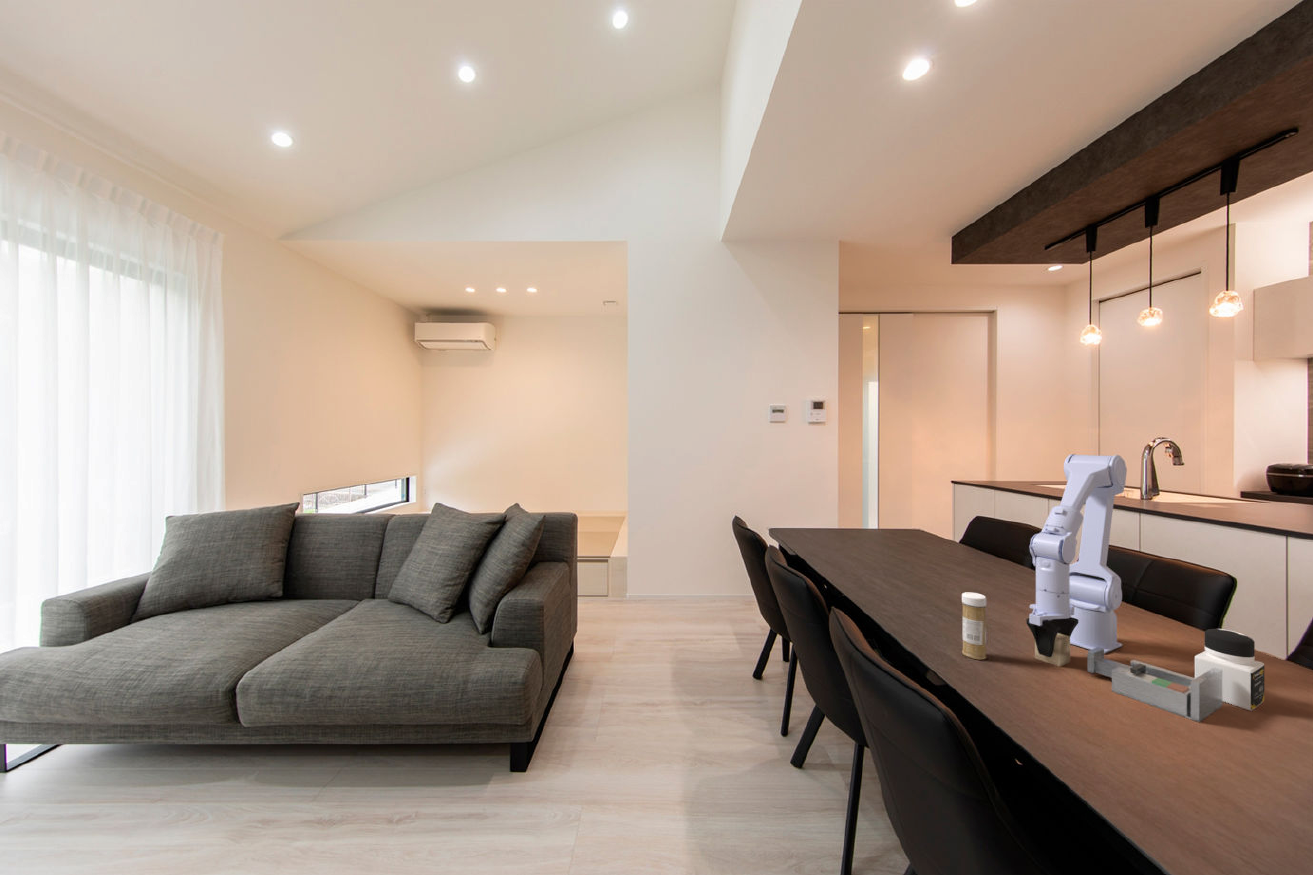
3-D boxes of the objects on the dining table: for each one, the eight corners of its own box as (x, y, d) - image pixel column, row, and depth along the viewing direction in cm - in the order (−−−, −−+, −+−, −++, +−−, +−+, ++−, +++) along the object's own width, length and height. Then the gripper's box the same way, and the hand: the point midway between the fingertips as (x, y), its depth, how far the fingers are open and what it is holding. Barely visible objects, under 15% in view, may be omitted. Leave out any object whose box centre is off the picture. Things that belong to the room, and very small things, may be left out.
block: (1045, 654, 110) (1045, 629, 110) (1070, 662, 106) (1070, 636, 106) (1034, 658, 107) (1034, 632, 107) (1059, 666, 103) (1059, 640, 103)
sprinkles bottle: (990, 657, 108) (990, 595, 108) (980, 662, 105) (980, 599, 105) (967, 649, 112) (967, 590, 112) (957, 654, 109) (957, 593, 109)
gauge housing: (1137, 678, 98) (1137, 645, 98) (1222, 705, 88) (1222, 669, 88) (1111, 691, 93) (1111, 656, 93) (1199, 722, 83) (1199, 683, 83)
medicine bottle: (1252, 711, 86) (1252, 643, 86) (1194, 693, 93) (1193, 629, 93) (1265, 701, 90) (1265, 635, 90) (1208, 684, 96) (1208, 622, 96)
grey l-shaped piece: (1097, 666, 101) (1097, 644, 101) (1153, 684, 94) (1153, 661, 94) (1080, 674, 98) (1080, 652, 98) (1136, 693, 90) (1136, 669, 90)
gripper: (1048, 580, 113) (1048, 639, 113) (1013, 589, 107) (1013, 651, 107) (1086, 588, 107) (1086, 651, 107) (1051, 598, 100) (1051, 665, 100)
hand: (1052, 652), depth 106 cm, fingers open, 5 cm apart
